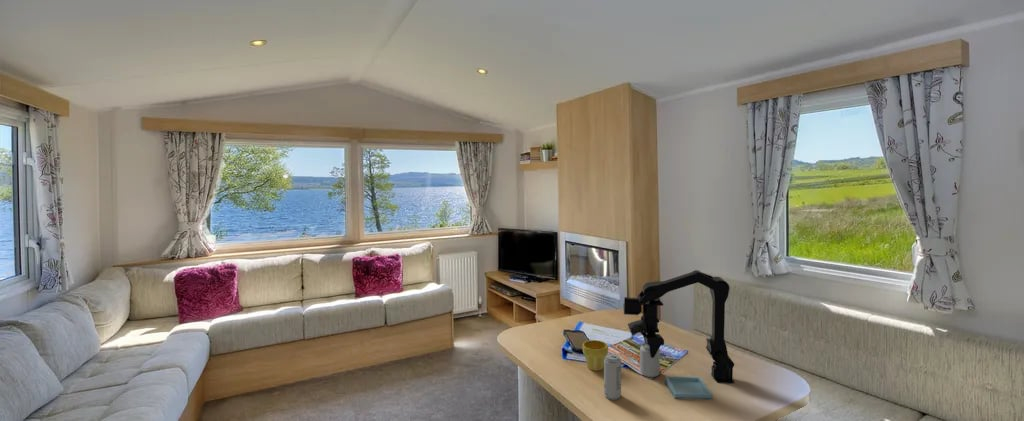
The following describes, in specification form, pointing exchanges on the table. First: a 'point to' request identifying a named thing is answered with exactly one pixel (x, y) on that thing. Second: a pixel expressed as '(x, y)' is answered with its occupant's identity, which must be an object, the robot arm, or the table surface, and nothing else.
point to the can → (649, 362)
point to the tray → (688, 388)
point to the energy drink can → (612, 376)
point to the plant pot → (595, 354)
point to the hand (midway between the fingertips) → (650, 353)
